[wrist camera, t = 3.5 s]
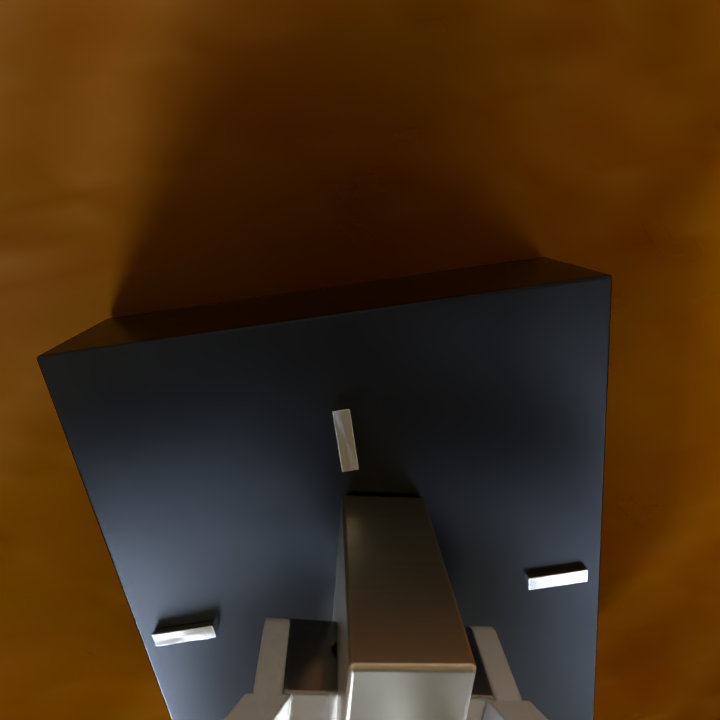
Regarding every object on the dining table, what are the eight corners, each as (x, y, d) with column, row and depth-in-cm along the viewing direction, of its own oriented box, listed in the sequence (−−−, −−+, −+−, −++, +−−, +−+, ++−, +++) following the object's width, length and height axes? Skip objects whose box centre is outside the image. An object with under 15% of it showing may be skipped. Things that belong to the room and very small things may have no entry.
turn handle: (341, 493, 10) (349, 685, 6) (425, 496, 10) (484, 685, 6) (326, 696, 12) (324, 944, 8) (396, 696, 12) (429, 940, 8)
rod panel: (105, 318, 12) (28, 359, 9) (546, 256, 12) (618, 275, 9) (230, 714, 16) (207, 830, 13) (547, 666, 16) (595, 770, 13)
